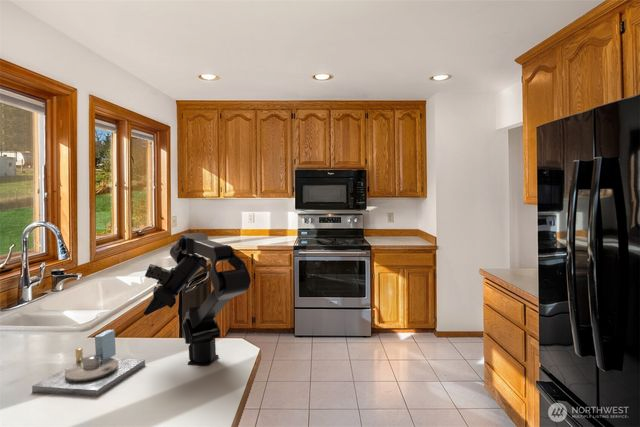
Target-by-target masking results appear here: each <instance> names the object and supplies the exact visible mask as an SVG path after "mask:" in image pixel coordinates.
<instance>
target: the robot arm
mask: <svg viewBox="0 0 640 427" xmlns="http://www.w3.org/2000/svg"><path fill="white" fill-rule="evenodd" d="M169 255H170V257H171V258H172V259H173V260H174V262H175V263H176V265H175V266H174V267H172V268H171V269H167V268H163V267H162V266H159V265H157V264H156V265H155V264H152V263H150V264H149V265H148V267H147V270H146V272H145V273H144V277H146V278H148V279H154V280H156V285H158V286H154V288H153V290H152V291H153V292H152V294H153V297H152V298H151V300H150V301H149V303H148V305H147V306H146V308H144V311H143V314H144V315H145V316H148V315H150V314H152V313H154V312H157V311H158V310H160V309H163V308H164V307H167V306H168V307H169V308H171V309H172V308H173V307H174V306H175V304H176V303H177V296H178V295H179V294H180V291H182V289H184V287H185V286H188V284H189V283H190V281H191V280H192V279H193V277H194V276H196V274H197V273H198V272H199V271H200V270H201V269H202V268H203V270H206V269H207V267H208V263H207V262H208V260H207V259H209V260H210V262H211V268H210V270H209V274H208V275H209V278H210V282H211V283H212V287H213V289H212V290H211V292H210V294H208V296H207V297H206V299H205V300H204V301H203V302H202V304H201V305H197V306H196V305H195V306H190V307H189V308H188V310H187V312H185V315H184V317H183V320H182V324H181V327H182V332H183V337H184V338H183V339H184V341H185V342H184V344H187V345H188V360H189V361H188V362H187V365H189V366H191V365H192V366H193V365H194V366H210V365H212V363H214V362H215V361H216V360H217V359H218V358H219V357H220V356H219V354H217V351H216V349H217V348H216V339H220V336H221V329H220V327H219V324H218V322H217V320H216V316H217V315H219V313H221V311H222V309H223V308H224V307H225V306H226V305H227V304H228V302H229V301H230V300H231V299H233V298H234V297H237V296H240V295H242V294H243V293H245V292H247V291H248V290H249V288H250V285H251V281H252V280H251V275H250V273H249V270H248V268H247V265H246V263H245V262H244V260H242V259H241V258H240V257H238V256H237V255H236V254H235V251H234V249H233V247H232V246H231V245H228V244H223V243H221V242H216V241H213V240H210V239H209V236H208V235H207V234H205V233H203V232H194V233H182V234H181V235H180V238H178V239H177V241H176V243H175V244H174V245H173V246H171V248H170V250H169ZM226 261H227V263H229V264H230V265H231V266H232V268H234V269H230V270H222V271H218V270H217V263H218V262H226Z"/></svg>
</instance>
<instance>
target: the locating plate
mask: <svg viewBox="0 0 640 427" xmlns="http://www.w3.org/2000/svg"><path fill="white" fill-rule="evenodd" d="M83 353H84V352H83V347H77V348H76V349H75V362H76V363H75V364H78V363H81V362H83V358H84V354H83ZM112 358H113V359H116V360H117V361H118V368H117V369H116V370H115V371H113V372H112V373H110V374H108V375H105V376H102V377H99V378H96V379H92V380H86V381H69V380H67V379H66V378H65V371H66V370H67V369H68V368H70V367H71V366H73V365H75V364H71V365H70V366H68V367H66V368H64V369H63V370H60V371H58V372H56V373H55V374H52V375H51V376H49V377H47V378H45V379H43V380H41V381H39V382H37V383H35V384H33V385H31V389H32V390H31V391H32V393H40V394H52V395H53V394H55V395H57V394H58V395H67V396H68V395H69V396H82V397H83V396H84V397H95V398H96V397H99V396H100V395H102V394H104V393H105V392H106V391H108V390H110V389H111V388H112V387H114V386H116V385H117V384H118V383H120V382H122V381H123V380H125V379H127V377H129V376H131V375H133V374H134V373H135V372H137V371H139V370H140V369H141V368H143V367H144V366H146V359H137V358H120V357H119V358H115V357H112Z"/></svg>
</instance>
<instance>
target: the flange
mask: <svg viewBox="0 0 640 427" xmlns="http://www.w3.org/2000/svg"><path fill="white" fill-rule="evenodd" d="M94 347H95V348H94V349H95V354H91V355H87V356H83V362H81V363H78V364H76V363H75V365H74V364H72V365H73V366H72V365H70V366H71V367H70V366H69V367H70V368H68V367H67V368H68V369H67V370H66V371H65V378H66V379H67V380H69V381H86V380H92V379H96V378H99V377H102V376H105V375H108V374H110V373H112V372H113V371H115V370H116V369H117V368H118V361H117V360H116V359H113V358H114V356H116V354H117V353H116V352H117V351H116V330H115V329H107V330H104V331H102V332H101V333H99V334H97V335H95V336H94Z"/></svg>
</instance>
